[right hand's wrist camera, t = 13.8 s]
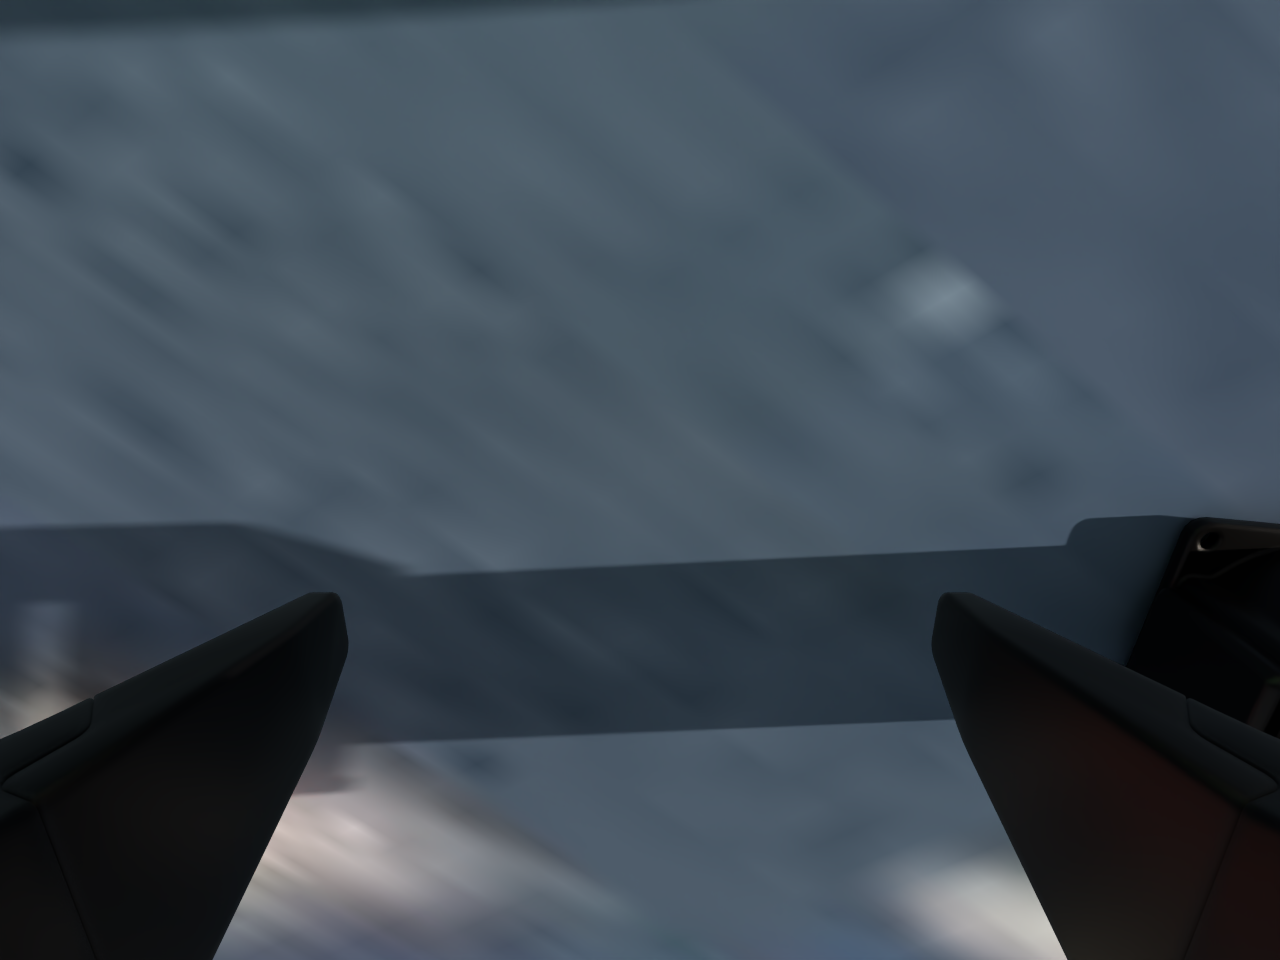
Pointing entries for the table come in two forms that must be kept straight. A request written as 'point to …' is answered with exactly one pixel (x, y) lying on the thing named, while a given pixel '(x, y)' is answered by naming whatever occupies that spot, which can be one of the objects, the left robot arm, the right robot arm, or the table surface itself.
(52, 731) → the right robot arm
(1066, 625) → the table surface
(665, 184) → the table surface
